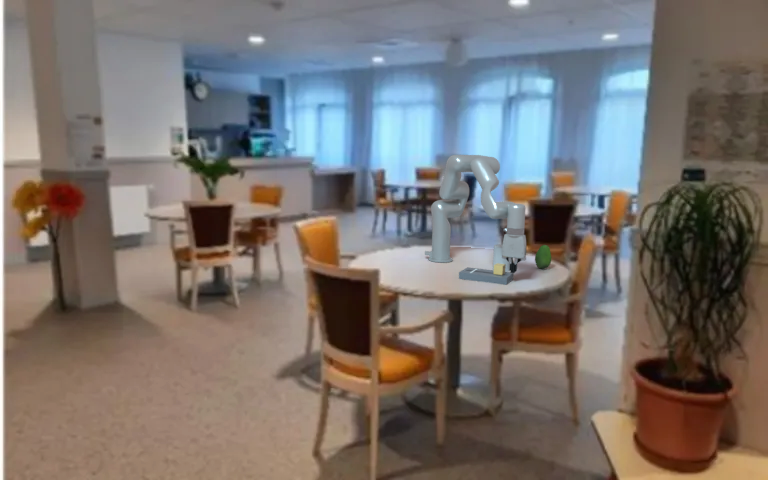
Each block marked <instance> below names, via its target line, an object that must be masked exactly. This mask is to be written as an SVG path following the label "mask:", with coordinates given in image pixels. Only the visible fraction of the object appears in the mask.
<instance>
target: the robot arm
mask: <svg viewBox="0 0 768 480" xmlns="http://www.w3.org/2000/svg"><path fill="white" fill-rule="evenodd" d="M500 169H501V164H500V162H499V160H498V158H496V157H493V156H488V155H481V154H453V155H450V156H449V157H448V159H447V160H446V164H445V170H444V171H445V172H444V175H443V178H442V181H441V185H440V188H439V191H438V193H439V197H440V198H441V199H438V200H436V201H434V202H433V203H432V204H431V206H430V207H431V208H430V211H431V212H430V213H431V221H432V226H431V227H432V228H431V230H432V233H431V235H432V236H431V250H425V251H424V255H425V256H428V261H429V262H433V263H450V262H453V257H451V235H452V233H451V232H452V231H451V230H452V226H451V224H450V222H449V220H448V219H453V218H454V219H456V218H459V217H461V216H462V214H463V213H464V211H465V208H466V205H467V201H468V199H469V196H470V187H469V186H470V185H469V184H468V183H467V182H466V181H464V180H462V173H473V175H474V177H475V179H476V181H477V182H478V185H479V187H480V189H481V192H480V203H481V206H482V207H483V210H484V213H486V215H487V216H488V217H489V218H490V219H492V220H499V219H506V228H505V227H504V228H503V232H505V234H503V235H504V236H503V241H502V244H503V245H502V258H503V259H506V260H507V261H508V262H509V264H510V269H509V270H510V271H509V272H510V273H514V274H515V273H516V272H517V271H518V264H519V263H520V262H524V261H526V260H527V238H526V234H525V223H526V205H525V204H523V203H515V202H513V201H495V199H494V197H493V196H492V193H491V192H493V191H494V190H495V189H496V188H497V187H498V186H499V184H500V180H499V178H498V177H497V174H498V173H499V171H500Z"/></svg>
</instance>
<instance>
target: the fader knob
mask: <svg viewBox="0 0 768 480" xmlns="http://www.w3.org/2000/svg"><path fill="white" fill-rule="evenodd" d="M505 268H506V264H499V263H497V264H495V265H494V274H498V275H503V274H504V273H505Z"/></svg>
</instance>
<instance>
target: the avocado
mask: <svg viewBox="0 0 768 480" xmlns="http://www.w3.org/2000/svg"><path fill="white" fill-rule="evenodd" d="M551 253H552V252H551V249H550V247H549V245H546V244H543V245H541V246H539V248H538V249H537V252H536V253H535V256H534V262H535V265H536V267H537V268H538V269H541V270H545V269H547V268H549V267H550V264H551V262H552V254H551Z"/></svg>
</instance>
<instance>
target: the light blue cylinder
mask: <svg viewBox="0 0 768 480" xmlns="http://www.w3.org/2000/svg"><path fill="white" fill-rule="evenodd" d="M502 245H503V243H502V244H501V243H500V244H498V243H497V244H494V245H493V257H492V259H493V260H492V270H494V265H495V264H497V263H499V264H506V268H505V272H510V270H509V269H510V264H509V262H508V261H507V260H506V259H503V258H502Z"/></svg>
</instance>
